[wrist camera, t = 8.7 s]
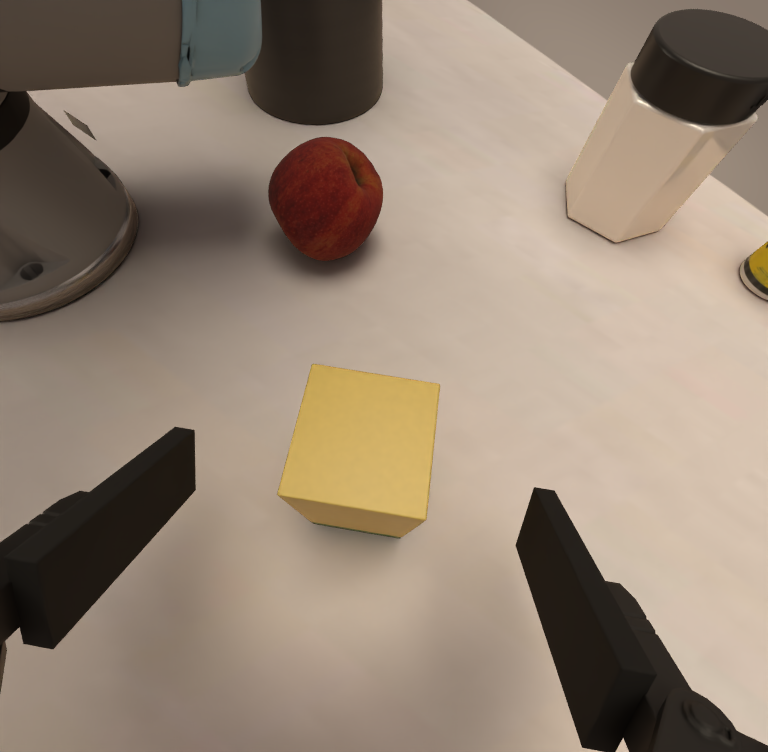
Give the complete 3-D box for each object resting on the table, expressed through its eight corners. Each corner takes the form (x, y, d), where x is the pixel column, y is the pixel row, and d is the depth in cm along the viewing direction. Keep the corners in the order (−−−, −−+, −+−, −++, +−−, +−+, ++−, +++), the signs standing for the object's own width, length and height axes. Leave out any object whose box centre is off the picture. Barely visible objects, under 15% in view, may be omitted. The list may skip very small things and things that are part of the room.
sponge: (312, 523, 22) (276, 495, 13) (331, 438, 24) (311, 363, 15) (400, 538, 22) (426, 520, 13) (411, 451, 24) (440, 383, 15)
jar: (665, 251, 32) (817, 93, 21) (566, 236, 32) (667, 72, 22) (650, 179, 36) (773, 14, 25) (562, 166, 36) (646, -4, 25)
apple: (363, 291, 29) (362, 201, 22) (264, 266, 30) (232, 170, 22) (389, 221, 32) (396, 123, 25) (299, 200, 33) (281, 98, 26)
